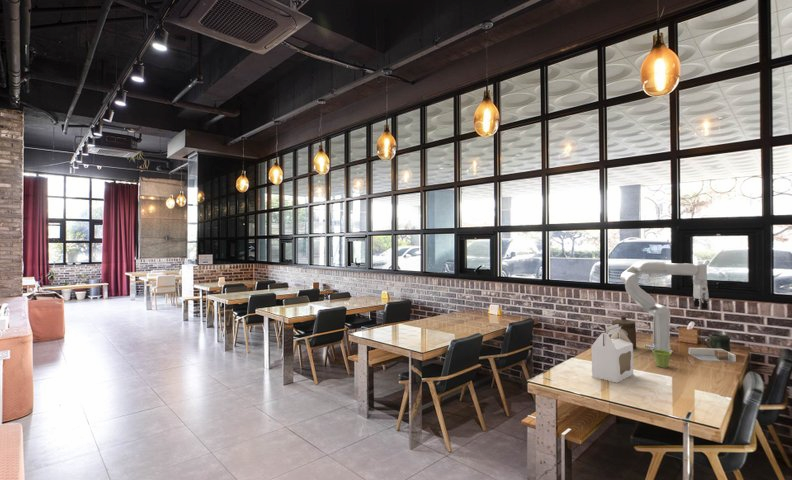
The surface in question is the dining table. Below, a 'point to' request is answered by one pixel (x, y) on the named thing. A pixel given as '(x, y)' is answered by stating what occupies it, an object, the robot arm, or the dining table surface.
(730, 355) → the arena
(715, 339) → the mug
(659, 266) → the robot arm
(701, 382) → the dining table surface
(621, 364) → the gable box
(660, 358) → the plant pot
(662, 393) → the dining table surface
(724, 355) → the walnut block
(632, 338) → the wooden container
